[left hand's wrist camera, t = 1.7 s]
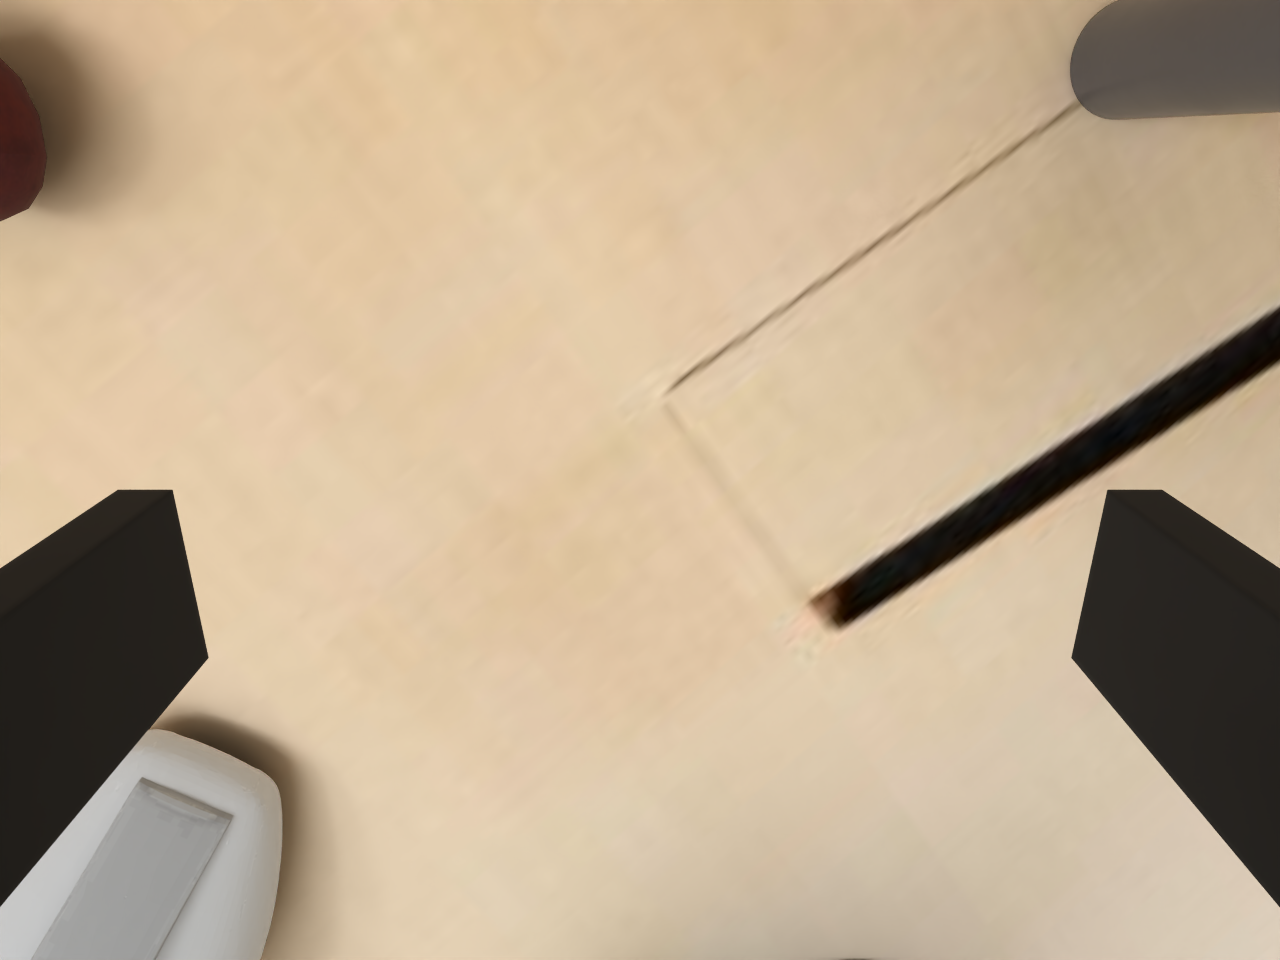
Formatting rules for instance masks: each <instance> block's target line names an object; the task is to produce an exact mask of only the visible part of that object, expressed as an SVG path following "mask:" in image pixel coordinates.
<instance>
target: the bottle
mask: <svg viewBox="0 0 1280 960" xmlns="http://www.w3.org/2000/svg"><path fill="white" fill-rule="evenodd" d="M1070 74H1071V82H1072V87H1073V89H1074V92H1075V94H1076V96H1077V98H1078V100H1079V101H1080V103H1081V104H1082V105H1083V106H1084V107H1085V108H1086V109H1087V110H1088V111H1090V112H1091V113H1093V114H1095V115H1097V116H1099V117H1102V118H1105V119H1141V118H1163V117H1185V116H1207V115H1228V114H1250V113H1272V112H1280V0H1118V1H1116V2H1114V3H1111V4H1110V5H1108V6H1106V7H1105V8H1103V9H1102V10H1101V11H1099V12H1098V13H1097V14H1096V15H1095V16H1094V17H1093V18H1092V19H1091V20H1090V21H1089V22H1088V24H1087V25H1086V26H1085V28H1084V29H1083V31H1082V32H1081V34H1080V36H1079V38H1078V40H1077V42H1076V44H1075V47H1074V50H1073V54H1072V58H1071V66H1070Z"/></svg>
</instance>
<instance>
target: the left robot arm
mask: <svg viewBox="0 0 1280 960" xmlns="http://www.w3.org/2000/svg"><path fill="white" fill-rule="evenodd" d="M207 659H208V653H207V648H206V644H205V639H204V634H203V630H202V625H201V620H200V616H199V611H198V606H197V602H196V597H195V592H194V588H193V583H192V578H191V574H190V569H189V564H188V560H187V555H186V550H185V546H184V541H183V536H182V532H181V527H180V522H179V518H178V513H177V508H176V504H175V499H174V494H173V490H117V491H115V492H114V493H112V494H111V495H109V496H108V497H106V498H105V499H103V500H102V501H100V502H99V503H97V504H96V505H94V506H93V507H92V508H90V509H89V510H87V511H86V512H84V513H83V514H81V515H80V516H78V517H77V518H75V519H74V520H72V521H71V522H69V523H68V524H66V525H65V526H63V527H62V528H60V529H59V530H57V531H56V532H54V533H53V534H51V535H50V536H48V537H47V538H45V539H44V540H42V541H41V542H39V543H38V544H36V545H35V546H33V547H32V548H30V549H29V550H27V551H26V552H24V553H23V554H21V555H20V556H18V557H17V558H15V559H14V560H12V561H11V562H9V563H8V564H6V565H5V566H3V567H2V568H0V907H1V906H2V904H3V903H4V902H5V901H6V900H7V898H8V897H9V896H10V895H11V894H12V892H13V891H14V890H15V889H16V888H17V886H18V885H19V884H20V883H21V882H22V880H23V879H24V878H25V877H26V876H27V874H28V873H29V872H30V871H31V870H32V868H33V867H34V866H35V865H36V864H37V862H38V861H39V860H40V859H41V858H42V857H43V855H44V854H45V853H46V852H47V851H48V849H49V848H50V847H51V846H52V845H53V843H54V842H55V841H56V840H57V839H58V837H59V836H60V835H61V834H62V833H63V831H64V830H65V829H66V828H67V827H68V825H69V824H70V823H71V822H72V821H73V819H74V818H75V817H76V816H77V815H78V813H79V812H80V811H81V810H82V809H83V807H84V806H85V805H86V804H87V803H88V801H89V800H90V799H91V798H92V797H93V795H94V794H95V793H96V792H97V791H98V789H99V788H100V787H101V786H102V785H103V783H104V782H105V781H106V780H107V779H108V777H109V776H110V775H111V774H112V773H113V772H114V770H115V769H116V768H117V767H118V766H119V764H120V763H121V762H122V761H123V760H124V758H125V757H126V756H127V755H128V754H129V752H130V751H131V750H132V749H133V748H134V746H135V745H136V744H137V743H138V742H139V740H140V739H141V738H142V737H143V736H144V734H145V733H146V732H147V731H148V730H149V728H150V727H151V726H152V725H153V724H154V722H155V721H156V720H157V719H158V718H159V716H160V715H161V714H162V713H163V712H164V710H165V709H166V708H167V707H168V706H169V704H170V703H171V702H172V701H173V700H174V698H175V697H176V696H177V695H178V694H179V693H180V691H181V690H182V689H183V688H184V687H185V685H186V684H187V683H188V682H189V681H190V679H191V678H192V677H193V676H194V675H195V673H196V672H197V671H198V670H199V669H200V667H201V666H202V665H203V664H204V663H205V661H206V660H207ZM1072 659H1073V660H1074V661H1075V663H1076V664H1077V665H1078V666H1079V667H1080V669H1081V670H1082V671H1083V672H1084V673H1085V675H1086V676H1087V677H1088V678H1089V679H1090V681H1091V682H1092V683H1093V684H1094V685H1095V687H1096V688H1097V689H1098V690H1099V691H1100V693H1101V694H1102V695H1103V696H1104V697H1105V698H1106V700H1107V701H1108V702H1109V703H1110V704H1111V706H1112V707H1113V708H1114V709H1115V710H1116V712H1117V713H1118V714H1119V715H1120V716H1121V718H1122V719H1123V720H1124V721H1125V722H1126V724H1127V725H1128V726H1129V727H1130V728H1131V730H1132V731H1133V732H1134V733H1135V734H1136V736H1137V737H1138V738H1139V739H1140V740H1141V742H1142V743H1143V744H1144V745H1145V746H1146V748H1147V749H1148V750H1149V751H1150V752H1151V754H1152V755H1153V756H1154V757H1155V758H1156V760H1157V761H1158V762H1159V763H1160V764H1161V766H1162V767H1163V768H1164V769H1165V770H1166V772H1167V773H1168V774H1169V775H1170V776H1171V777H1172V779H1173V780H1174V781H1175V782H1176V783H1177V785H1178V786H1179V787H1180V788H1181V789H1182V791H1183V792H1184V793H1185V794H1186V795H1187V797H1188V798H1189V799H1190V800H1191V801H1192V803H1193V804H1194V805H1195V806H1196V807H1197V809H1198V810H1199V811H1200V812H1201V813H1202V815H1203V816H1204V817H1205V818H1206V819H1207V821H1208V822H1209V823H1210V824H1211V825H1212V827H1213V828H1214V829H1215V830H1216V831H1217V833H1218V834H1219V835H1220V836H1221V837H1222V839H1223V840H1224V841H1225V842H1226V843H1227V845H1228V846H1229V847H1230V848H1231V849H1232V851H1233V852H1234V853H1235V854H1236V855H1237V857H1238V858H1239V859H1240V860H1241V861H1242V862H1243V864H1244V865H1245V866H1246V867H1247V868H1248V870H1249V871H1250V872H1251V873H1252V874H1253V876H1254V877H1255V878H1256V879H1257V880H1258V882H1259V883H1260V884H1261V885H1262V886H1263V888H1264V889H1265V890H1266V891H1267V892H1268V894H1269V895H1270V896H1271V897H1272V898H1273V900H1274V901H1275V902H1276V903H1277V904H1278V906H1279V907H1280V568H1278V567H1277V566H1275V565H1274V564H1272V563H1271V562H1269V561H1268V560H1266V559H1265V558H1263V557H1262V556H1260V555H1259V554H1257V553H1256V552H1254V551H1253V550H1251V549H1250V548H1248V547H1247V546H1245V545H1244V544H1242V543H1241V542H1239V541H1238V540H1236V539H1235V538H1233V537H1232V536H1230V535H1229V534H1227V533H1226V532H1224V531H1223V530H1221V529H1220V528H1218V527H1217V526H1215V525H1214V524H1212V523H1211V522H1209V521H1208V520H1206V519H1205V518H1203V517H1202V516H1200V515H1199V514H1197V513H1196V512H1194V511H1193V510H1191V509H1190V508H1188V507H1187V506H1186V505H1184V504H1183V503H1181V502H1180V501H1178V500H1177V499H1175V498H1174V497H1172V496H1171V495H1169V494H1168V493H1166V492H1165V491H1163V490H1107V494H1106V499H1105V504H1104V508H1103V513H1102V518H1101V522H1100V527H1099V532H1098V536H1097V541H1096V546H1095V550H1094V555H1093V560H1092V564H1091V569H1090V574H1089V578H1088V583H1087V588H1086V592H1085V597H1084V602H1083V606H1082V611H1081V616H1080V620H1079V625H1078V630H1077V634H1076V639H1075V644H1074V648H1073V653H1072Z"/></svg>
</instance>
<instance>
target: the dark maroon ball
mask: <svg viewBox="0 0 1280 960" xmlns="http://www.w3.org/2000/svg"><path fill="white" fill-rule="evenodd" d="M46 160H47V156H46V150H45V145H44V139H43V134H42V129H41V123H40V119H39V115H38V113H37V111H36V109H35V107H34V105H33V103H32V101H31V99H30V97H29V95H28V93H27V91H26V89H25V87H24V85H23V83H22V81H21V79H20V77H19V76H18V75H17V74H16V73H15V72H14V71H13V70H12V69H11V68H10V67H9V66H8V65H7V64H6V63H5V62H4V61H3V60H2V59H1V58H0V221H2V220H5V219H7V218H9V217H11V216H13V215H15V214H18V213H20V212H22V211H24V210H26V209H28V208H29V207H30V205H31V204H32V202H33V201H34V199H35V198H36V196H37V194H38V193H39V191H40V190H41V188H42V186H43V180H44V174H45V167H46Z"/></svg>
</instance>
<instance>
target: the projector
mask: <svg viewBox="0 0 1280 960" xmlns="http://www.w3.org/2000/svg"><path fill="white" fill-rule="evenodd" d="M281 853H282V806H281V797H280V793H279V790H278V787H277V785H276V784H275V782H274V781H273V780H272V779H271V778H270V777H269V776H268V775H267V774H265V773H264V772H262V771H261V770H259V769H257V768H254V767H252V766H250V765H248V764H247V763H245V762H243V761H241V760H239V759H237V758H235V757H233V756H231V755H229V754H227V753H224V752H222V751H220V750H218V749H215V748H213V747H211V746H208V745H206V744H203V743H201V742H198V741H196V740H193V739H190V738H187V737H184V736H181V735H178V734H176V733H174V732H171V731H167V730H161V729H152V730H148V731H147V732H146V733H145V734H144V736H143V737H142V738H141V739H140V740H139V742H138V743H137V744H136V745H135V746H134V748H133V749H132V750H131V751H130V752H129V754H128V755H127V756H126V757H125V758H124V760H123V761H122V762H121V763H120V764H119V766H118V767H117V768H116V769H115V770H114V772H113V773H112V774H111V775H110V776H109V777H108V779H107V780H106V781H105V782H104V783H103V785H102V786H101V787H100V788H99V789H98V791H97V792H96V793H95V794H94V795H93V797H92V798H91V799H90V800H89V801H88V803H87V804H86V805H85V806H84V807H83V809H82V810H81V811H80V812H79V813H78V815H77V816H76V817H75V818H74V819H73V821H72V822H71V823H70V824H69V825H68V827H67V828H66V829H65V830H64V831H63V833H62V834H61V835H60V836H59V837H58V839H57V840H56V841H55V842H54V843H53V845H52V846H51V847H50V848H49V849H48V851H47V852H46V853H45V854H44V855H43V857H42V858H41V859H40V860H39V861H38V862H37V864H36V865H35V866H34V867H33V868H32V870H31V871H30V872H29V873H28V874H27V876H26V877H25V878H24V879H23V880H22V882H21V883H20V884H19V885H18V886H17V888H16V889H15V890H14V891H13V892H12V894H11V895H10V896H9V897H8V898H7V900H6V901H5V902H4V903H3V904H2V906H1V907H0V960H261V957H262V953H263V950H264V946H265V943H266V939H267V936H268V932H269V929H270V925H271V921H272V916H273V911H274V907H275V901H276V895H277V889H278V882H279V873H280V863H281Z"/></svg>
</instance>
